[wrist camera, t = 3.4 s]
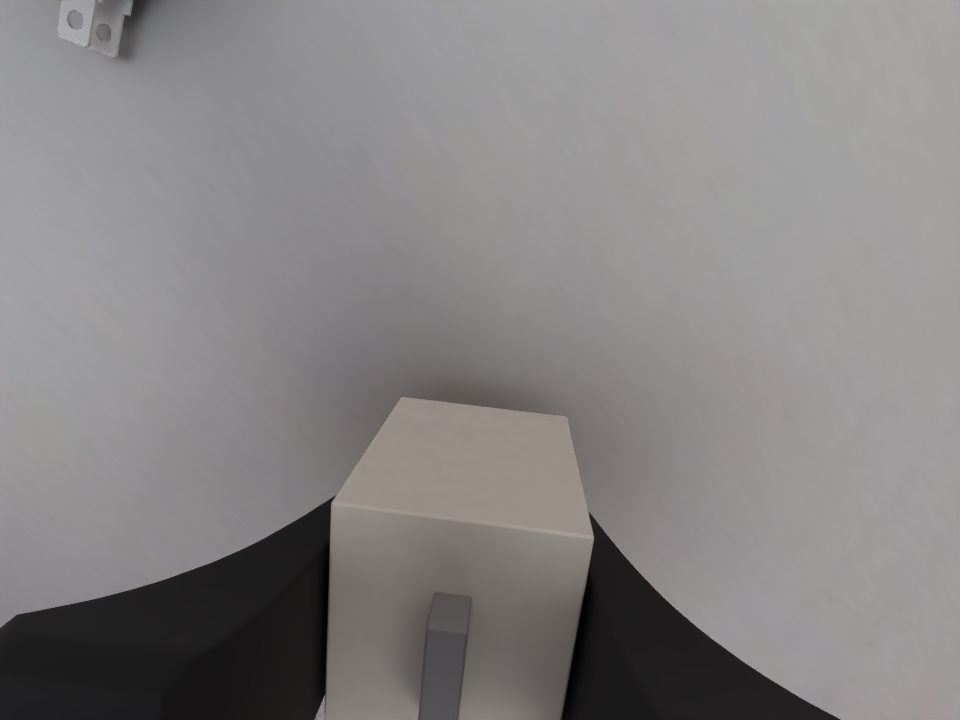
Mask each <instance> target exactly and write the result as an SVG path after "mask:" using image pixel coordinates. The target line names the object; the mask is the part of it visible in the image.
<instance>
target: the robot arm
mask: <svg viewBox="0 0 960 720" xmlns="http://www.w3.org/2000/svg"><path fill="white" fill-rule="evenodd" d="M335 497H336V495H335V496H334V497H332V498H331V499H329V500H328V501H326V502H325V503H323V504H322V505H320V506H319V507H317V508H315V509H314V510H312V511H311V512H309V513H308V514H306V515H304V516H303V517H301V518H300V519H298V520H296V521H294V522H293V523H291V524H289V525H287V526H286V527H284V528H282V529H280V530H278V531H277V532H275V533H273V534H271V535H270V536H268V537H266V538H264V539H262V540H260V541H258V542H256V543H255V544H252V545H250V546H248V547H246V548H244V549H242V550H240V551H238V552H235V553H233V554H231V555H229V556H226V557H224V558H222V559H220V560H217V561H215V562H212V563H210V564H207V565H204V566H202V567H199V568H196V569H193V570H190V571H188V572H185V573H182V574H179V575H177V576H174V577H171V578H168V579H166V580H162V581H159V582H156V583H153V584H149V585H146V586H143V587H139V588H136V589H132V590H129V591H125V592H121V593H117V594H114V595H110V596H106V597H102V598H98V599H93V600H89V601H84V602H80V603H75V604H70V605H65V606H60V607H55V608H50V609H45V610H40V611H35V612H30V613H24V614H18V615H16V616H15V617H14V618H12V619H11V620H10V621H9V622H7V623H6V624H5V625H3V626H2V627H1V628H0V720H314V719H315V717H316V714H317V712H318V709H319V707H320V705H321V702H322V700H323V697H324V695H325V687H326V655H327V622H328V589H329V557H330V524H331V503H332V501H333V500H334V498H335ZM588 513H589V512H588ZM589 518H590V522H591V527H592V531H593V535H594V541H593V547H592V553H591V558H590V564H589V569H588V575H587V581H586V586H585V592H584V597H583V603H582V609H581V614H580V620H579V625H578V631H577V637H576V642H575V648H574V654H573V659H572V665H571V670H570V676H569V682H568V687H567V693H566V698H565V704H564V710H563V715H562V720H840V719H838V718H837V717H835V716H833V715H831V714H829V713H827V712H825V711H823V710H821V709H820V708H818V707H816V706H814V705H812V704H810V703H808V702H806V701H805V700H803V699H801V698H799V697H798V696H796V695H795V694H793V693H791V692H790V691H788V690H786V689H785V688H783V687H781V686H780V685H778V684H777V683H775V682H773V681H772V680H770V679H768V678H767V677H765V676H764V675H762V674H761V673H759V672H758V671H756V670H755V669H753V668H752V667H750V666H749V665H747V664H745V663H744V662H743V661H741V660H740V659H738V658H737V657H736V656H734V655H733V654H732V653H730V652H729V651H727V650H726V649H725V648H723V647H722V646H721V645H719V644H718V643H716V642H715V641H714V640H712V639H711V638H710V637H709V636H707V635H706V634H705V633H703V632H702V631H701V630H700V629H698V628H697V627H696V626H695V625H694V624H693V623H691V622H690V621H689V620H688V619H687V618H686V617H684V616H683V615H682V614H681V613H680V612H679V611H677V610H676V609H675V608H674V607H673V606H672V605H671V604H670V603H669V602H668V601H666V600H665V599H664V598H663V597H662V596H661V595H660V594H659V593H658V592H657V591H656V590H655V589H654V588H653V587H652V586H651V585H650V584H649V583H648V582H647V581H646V580H645V579H644V577H643V576H642V575H641V574H640V573H639V572H638V571H637V570H636V569H635V568H634V567H633V565H632V564H631V563H630V562H629V561H628V560H627V559H626V557H625V556H624V555H623V554H622V553H621V552H620V550H619V549H618V548H617V547H616V545H615V544H614V543H613V542H612V541H611V539H610V538H609V537H608V536H607V534H606V533H605V532H604V530H603V529H602V528H601V527H600V525H599V524H598V523H597V522H596V520H595V519H594V518H593V516H592V515H591V514H590V513H589Z"/></svg>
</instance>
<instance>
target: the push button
mask: <svg viewBox="0 0 960 720" xmlns="http://www.w3.org/2000/svg"><path fill="white" fill-rule="evenodd" d="M132 6H133V0H61V5H60V12H59V19H58V26H57V34H58V35H59V37H61V38H63V39H65V40H68V41H70V42H73V43H75V44H78V45H80V46H83V47H85V48H87V47H88V48H90V49H92V50H95V51H97V52H99V53H102V54H104V55H107V56H109V57H112V58H115V57H117V56H118V51H119V45H120V39H121V34H122V28H123V22H124V16H125V15H127V16H130V17H131V11H132ZM74 11H78V12H79V13H80V14H81V15H82V17H83V26H82V27H81V28H80V29H78V30H75V29H74V28H73V27H72V26H71V24H70V21H69V17H70V14H71V13H72V12H74ZM102 24H107V25H108V26H109V27H110V29H111V34H112V35H111V38H110V39H109V40H108V41H102V39H101V38H100V37H99V35H98V29H99V26H101V25H102Z"/></svg>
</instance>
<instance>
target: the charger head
mask: <svg viewBox="0 0 960 720" xmlns="http://www.w3.org/2000/svg"><path fill="white" fill-rule="evenodd" d="M593 541H594V535H593V531H592V527H591V522H590V518H589V513H588V509H587V504H586V500H585V495H584V491H583V486H582V482H581V477H580V473H579V469H578V464H577V460H576V455H575V451H574V446H573V442H572V437H571V433H570V428H569V424H568V420H567V417H565V416H557V415H548V414H540V413H532V412H524V411H515V410H507V409H499V408H490V407H482V406H474V405H465V404H457V403H449V402H441V401H432V400H424V399H416V398H407V397H401V398H400V400H399V401H398V403H397V404H396V406H395V407H394V409H393V410H392V412H391V413H390V415H389V416H388V418H387V419H386V421H385V422H384V424H383V425H382V427H381V428H380V430H379V431H378V433H377V435H376V436H375V438H374V439H373V441H372V442H371V444H370V445H369V447H368V448H367V450H366V451H365V453H364V454H363V456H362V457H361V459H360V460H359V462H358V463H357V465H356V466H355V468H354V469H353V471H352V472H351V474H350V475H349V477H348V479H347V480H346V482H345V483H344V485H343V486H342V488H341V489H340V491H339V492H338V494H337V495H336V497H335V498H334V500H333V501H332V503H331V524H330V557H329V589H328V622H327V655H326V687H325V720H562V715H563V710H564V704H565V698H566V693H567V687H568V682H569V676H570V670H571V665H572V659H573V654H574V648H575V642H576V637H577V631H578V625H579V620H580V614H581V609H582V603H583V597H584V592H585V586H586V581H587V575H588V569H589V564H590V558H591V553H592V547H593Z"/></svg>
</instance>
